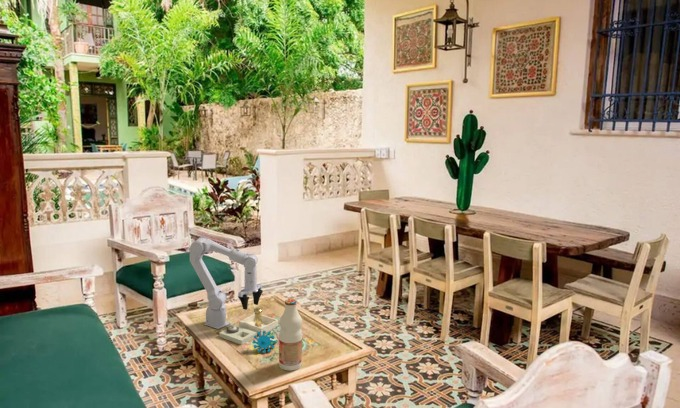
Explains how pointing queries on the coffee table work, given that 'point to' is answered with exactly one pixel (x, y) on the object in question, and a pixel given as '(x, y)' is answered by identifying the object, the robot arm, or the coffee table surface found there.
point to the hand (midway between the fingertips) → (250, 306)
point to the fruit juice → (290, 337)
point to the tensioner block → (237, 334)
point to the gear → (264, 342)
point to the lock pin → (258, 317)
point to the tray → (266, 324)
